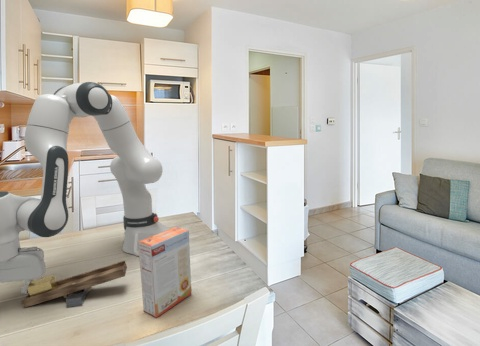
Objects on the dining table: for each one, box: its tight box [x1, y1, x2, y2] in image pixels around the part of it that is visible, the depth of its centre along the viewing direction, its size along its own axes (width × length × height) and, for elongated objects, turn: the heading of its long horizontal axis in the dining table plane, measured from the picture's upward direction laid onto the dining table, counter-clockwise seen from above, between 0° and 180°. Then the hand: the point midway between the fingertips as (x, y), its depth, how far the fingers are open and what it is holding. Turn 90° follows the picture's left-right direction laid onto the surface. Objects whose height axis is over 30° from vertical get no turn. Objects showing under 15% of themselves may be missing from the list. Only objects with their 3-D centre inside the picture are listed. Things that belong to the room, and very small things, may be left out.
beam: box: [21, 260, 128, 309], centre depth 92 cm, size 28×6×4 cm, turn 103°
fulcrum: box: [65, 289, 89, 308], centre depth 92 cm, size 4×12×2 cm, turn 15°
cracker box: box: [138, 226, 192, 319], centre depth 87 cm, size 14×6×21 cm, turn 145°
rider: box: [27, 274, 58, 297], centre depth 89 cm, size 6×4×4 cm, turn 103°
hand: (7, 295), depth 87 cm, fingers open, 8 cm apart
